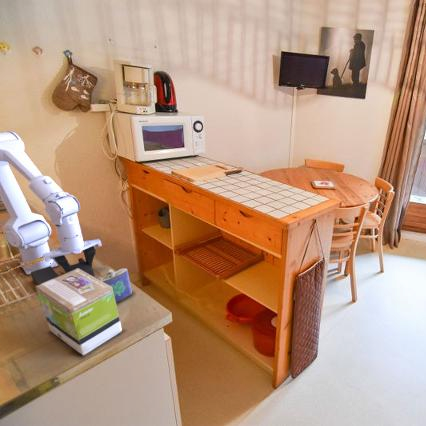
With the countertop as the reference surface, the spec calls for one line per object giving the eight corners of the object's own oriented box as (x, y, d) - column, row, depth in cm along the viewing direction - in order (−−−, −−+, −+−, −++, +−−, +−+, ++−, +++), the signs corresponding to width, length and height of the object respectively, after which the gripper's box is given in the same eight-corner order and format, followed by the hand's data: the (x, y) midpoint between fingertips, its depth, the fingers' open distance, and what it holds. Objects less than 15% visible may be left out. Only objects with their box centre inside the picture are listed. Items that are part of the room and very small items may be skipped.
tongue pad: (33, 281, 99) (30, 272, 98) (53, 275, 103) (50, 265, 102) (44, 299, 92) (41, 289, 91) (65, 291, 96) (63, 282, 95)
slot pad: (66, 272, 104) (63, 263, 102) (84, 266, 108) (81, 257, 106) (76, 285, 98) (74, 275, 97) (95, 278, 102) (93, 269, 101)
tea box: (48, 332, 81) (32, 285, 75) (90, 310, 90) (79, 266, 84) (82, 357, 75) (68, 307, 69) (124, 331, 83) (114, 285, 78)
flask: (129, 291, 98) (123, 261, 94) (134, 294, 97) (129, 265, 93) (97, 306, 91) (89, 275, 87) (102, 311, 90) (94, 279, 86)
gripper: (43, 247, 89) (55, 286, 95) (101, 231, 100) (109, 268, 105) (36, 238, 93) (48, 277, 99) (93, 224, 104) (101, 260, 109)
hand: (79, 271), depth 102 cm, fingers closed on slot pad, 5 cm apart
